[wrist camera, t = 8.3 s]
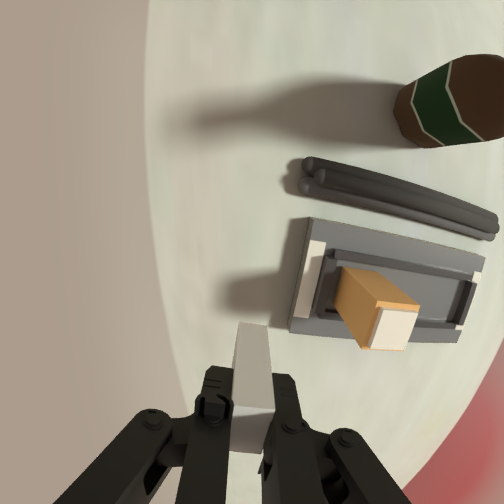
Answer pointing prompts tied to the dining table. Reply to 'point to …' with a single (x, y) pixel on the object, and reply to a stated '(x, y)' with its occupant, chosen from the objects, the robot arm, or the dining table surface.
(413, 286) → the grey rectangular tray
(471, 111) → the beer bottle
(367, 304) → the block
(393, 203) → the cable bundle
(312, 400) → the dining table surface
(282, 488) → the robot arm
